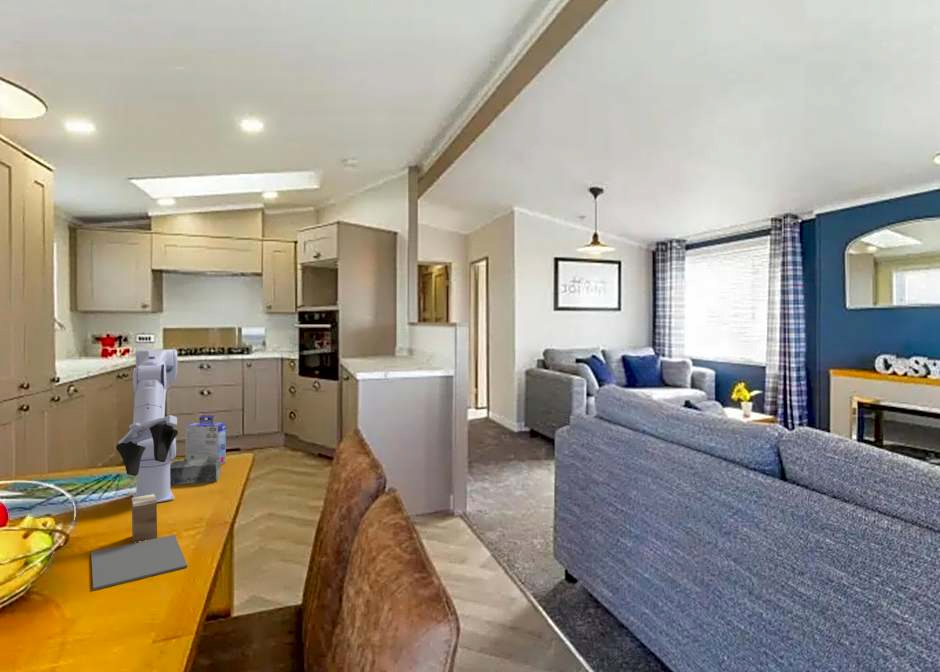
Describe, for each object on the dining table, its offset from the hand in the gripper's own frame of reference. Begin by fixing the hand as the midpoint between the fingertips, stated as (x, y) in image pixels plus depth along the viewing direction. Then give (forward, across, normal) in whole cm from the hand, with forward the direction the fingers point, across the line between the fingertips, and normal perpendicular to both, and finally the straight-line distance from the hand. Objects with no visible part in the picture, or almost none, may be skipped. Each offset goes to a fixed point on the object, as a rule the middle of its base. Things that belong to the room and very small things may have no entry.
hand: (146, 467), depth 114 cm
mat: (+21, +3, -4) cm, 21 cm away
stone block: (-10, -17, +29) cm, 35 cm away
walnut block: (+14, -3, +3) cm, 14 cm away
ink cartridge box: (-19, -22, +39) cm, 48 cm away
